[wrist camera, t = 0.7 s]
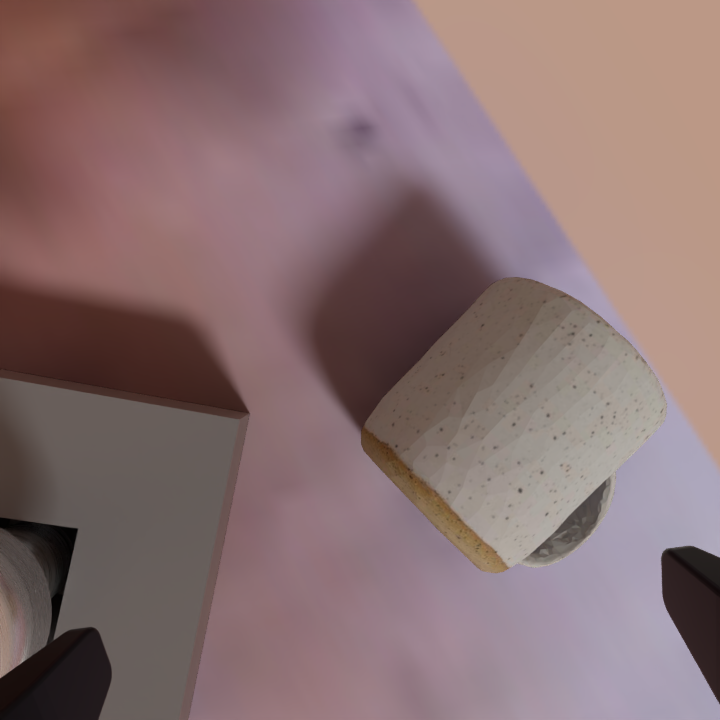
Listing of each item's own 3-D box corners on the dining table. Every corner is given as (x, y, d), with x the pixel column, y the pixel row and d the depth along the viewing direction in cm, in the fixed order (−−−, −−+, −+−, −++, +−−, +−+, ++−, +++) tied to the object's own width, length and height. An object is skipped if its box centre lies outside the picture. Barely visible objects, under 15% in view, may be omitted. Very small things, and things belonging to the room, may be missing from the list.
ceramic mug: (334, 428, 21) (363, 456, 13) (465, 292, 22) (559, 246, 15) (508, 598, 22) (628, 714, 14) (626, 459, 23) (796, 498, 15)
